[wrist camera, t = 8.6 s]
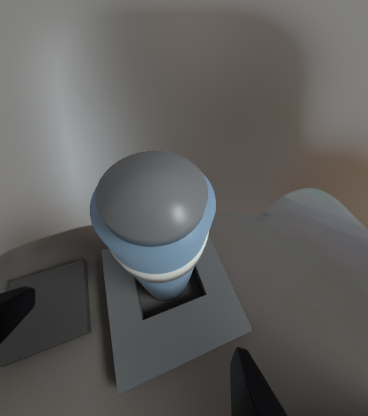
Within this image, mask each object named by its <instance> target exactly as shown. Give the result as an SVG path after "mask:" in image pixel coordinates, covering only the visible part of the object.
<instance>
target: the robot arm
mask: <svg viewBox="0 0 368 416" xmlns="http://www.w3.org/2000/svg"><path fill="white" fill-rule="evenodd" d="M34 306H35V289H34V288H32V287H28V286H23V287H20V288H17V289H14V290H11V291H7V292H4V293H1V294H0V344H1V343H2V342H3V341H4V340H5V339H6V338H7V337H8V336H9V335H10V333H11V332H12V331H13V330H14V329H15V328H16V327H17V326H18V325H19V324H20V322H21V321H22V320H23V319H24V318H25V317H26V316H27V315H28V314H29V313H30V311H31V310H32V309H33V308H34ZM230 376H231V414H232V416H287V414H286V412H285V411H284V409H283V408H282V406H281V404H280V403H279V401H278V399H277V398H276V396H275V394H274V393H273V391H272V390H271V388H270V386H269V385H268V383H267V381H266V380H265V378H264V376H263V375H262V373H261V372H260V370H259V368H258V367H257V365H256V363H255V362H254V360H253V358H252V357H251V355H250V354H249V352H248V351H247V350H246V349H243V348H240V347H237V348H236V349H235V352H234V355H233V358H232V361H231V366H230Z"/></svg>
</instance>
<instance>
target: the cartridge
mask: <svg viewBox="0 0 368 416" xmlns="http://www.w3.org/2000/svg"><path fill="white" fill-rule="evenodd" d="M215 210H216V200H215V194H214V191H213V189H212V186H211V184H210V182H209V181H208V179H207V178H206V177H205V176H204V174H203V173H202V172H201V171H200V170H199V169H198V168H197V167H196V166H195V165H194V164H193V163H192V162H190V161H189V160H187V159H185V158H184V157H181V156H179V155H176V154H173V153H168V152H162V151H147V152H141V153H137V154H133V155H130V156H128V157H126V158H123V159H121V160H120V161H118V162H116V163H115V164H114V165H112V166H111V167H110V168H109V169H108V170H107V171H106V172H105V173H104V175H103V176H102V178H101V179H100V181H99V183H98V185H97V187H96V189H95V191H94V193H93V196H92V199H91V203H90V217H91V222H92V225H93V227H94V230H95V231H96V233H97V235H98V236H99V237H100V238H101V240H102V241H103V242H104V243H105V244H106V245H107V246H108V247H109V249H110V251H111V253H112V255H113V256H114V258H115V259H116V260H117V261H118V262H119V263H120V264H121V266H122V267H123V268H124V269H125V270H126V271H127V272H128V273H130V274H131V275H132V276H134V277H135V278H136V279H137V280H138V281H139V282H140V283H141V284H142V285H143V286H144V288H145V289H146V290H147V291H148V292H149V293H150V294H151V295H152V296H153V297H154V298H156V299H158V300H161V301H170V300H174V299H176V298H177V297H179V296H180V295H181V294H182V293H183V292H184V290H185V288H186V286H187V284H188V281H189V279H190V276H191V274H192V271H193V269H194V266H195V265H196V263H197V262H198V260H199V258H200V256H201V254H202V252H203V249H204V247H205V245H206V242H207V239H208V233H209V229H210V226H211V224H212V221H213V218H214V215H215Z"/></svg>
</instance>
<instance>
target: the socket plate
mask: <svg viewBox="0 0 368 416" xmlns="http://www.w3.org/2000/svg"><path fill="white" fill-rule="evenodd" d="M101 253H102V262H103V271H104V280H105V288H106V297H107V306H108V315H109V323H110V332H111V341H112V350H113V358H114V367H115V376H116V385H117V393H118V395H120V394H122V393H124V392H126V391H128V390H130V389H132V388H134V387H137V386H139V385H141V384H143V383H145V382H147V381H149V380H151V379H153V378H155V377H157V376H159V375H161V374H163V373H166V372H168V371H170V370H172V369H174V368H176V367H178V366H180V365H182V364H184V363H186V362H188V361H190V360H193V359H195V358H197V357H199V356H201V355H203V354H205V353H207V352H209V351H211V350H213V349H215V348H217V347H219V346H222V345H224V344H226V343H228V342H230V341H232V340H234V339H236V338H238V337H240V336H242V335H244V334H246V333H249V332H251V331H253V330H252V328H251V325H250V323H249V321H248V319H247V317H246V315H245V312H244V310H243V308H242V306H241V304H240V302H239V299H238V297H237V295H236V293H235V291H234V289H233V286H232V284H231V282H230V280H229V278H228V275H227V273H226V271H225V269H224V267H223V265H222V262H221V260H220V258H219V256H218V254H217V252H216V249H215V247H214V245H213V243H212V241H211V239H210V236H209V234H208V239H207V242H206V245H205V247H204V249H203V252H202V254H201V256H200V258H199V260H198V262H197V263H196V265H195V266H194V270H195V272H196V275H197V278H198V280H199V283H200V286H201V288H202V291H203V294H204V296H202V297H200V298H197V299H195V300H192V301H190V302H187V303H185V304H182V305H180V306H177V307H175V308H172V309H170V310H167V311H165V312H162V313H160V314H157V315H155V316H152V317H150V318H147V319H144V314H143V309H142V304H141V300H140V295H139V290H138V285H137V280H136V278H135V277H134V276H132V275H131V274H130V273H128V272H127V271H126V270H125V269H124V268H123V267H122V266H121V264H120V263H119V262H118V261H117V260H116V259H115V258H114V256H113V255H112V253H111V251H110V249H109V248H106V249H102V250H101Z"/></svg>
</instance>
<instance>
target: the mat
mask: <svg viewBox="0 0 368 416" xmlns="http://www.w3.org/2000/svg"><path fill="white" fill-rule="evenodd" d="M23 286H28V287H32V288H34V289H35V306H34V308H33V309H32V310H31V311H30V313H29V314H28V315H27V316H26V317H25V318H24V319H23V320H22V321H21V322H20V324H19V325H18V326H17V327H16V328H15V329H14V330H13V331H12V332H11V333H10V335H9V336H8V337H7V338H6V339H5V340H4V341H3V342H2V343H1V344H0V367H3V366H6V365H8V364H11V363H13V362H16V361H19V360H21V359H24V358H26V357H29V356H31V355H34V354H36V353H39V352H42V351H44V350H47V349H49V348H52V347H54V346H57V345H59V344H62V343H65V342H67V341H70V340H72V339H75V338H77V337H80V336H82V335H85V334H88V333H90V332H91V325H90V310H89V295H88V280H87V265H86V261H85V260H84V259H82V260H79V261H75V262H72V263H69V264H65V265H62V266H59V267H55V268H52V269H49V270H45V271H42V272H39V273H36V274H32V275H29V276H26V277H22V278H19V279H16V280H12V281H9V285H8V291H11V290H14V289H17V288H20V287H23Z"/></svg>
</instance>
